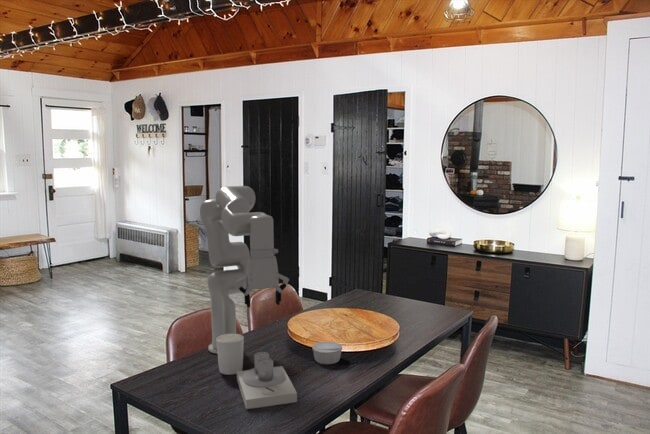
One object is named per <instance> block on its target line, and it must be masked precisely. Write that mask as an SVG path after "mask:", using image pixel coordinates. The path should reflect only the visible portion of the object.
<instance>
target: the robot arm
mask: <svg viewBox="0 0 650 434" xmlns="http://www.w3.org/2000/svg"><path fill="white" fill-rule="evenodd" d="M255 204H256V192H255V191H254V189H253V188H251V187H250V186H247V185H235V186H233V185H232V186H230V185H229V186H224V187H221V188H219V189H218V190H217V192H216V193H215V198H212V199H210V198H209V199H207V200H204V201H203V202H201V204H200V206H199V207H200V208H199V215H200V220H201V223H202V225H203V227H204V229H205V232H206V239H207V249H208V259H209V264H210V265H211V266H212V267H213V268H229V267H237V269H226V270H218V271H214V272H212V273H211V274H210V275H209V276H208V278H207V286H208V292H209V297H210V311H211V312H210V314H211V315H210V316H211V343H210V344H209V345H208V351H209V352H210V353H212V354H215V355H218V353H217V342H216V338H217V337H218V336H220V335H224V334H231V333H234V334H237V320H236V317H237V313H236V312H237V311H236V304H235V301H234V300H233V299H232V298H231V297H230V295H235V294H243V295H244V305H246V306H247V308H251V296H250V293H251V291H252V290H263V289H275V290H276V291H275V294H274V296H275V303H276V305H277V306H280V305H281V304H280V302H282V293H283V291H284V290H285V288H286V287H287V285H288V283H289V281H290V278H289V277H287V276H284V275H282V274H281V273H279V268H278V261H277V257H276V256H275V255H276V254H278V253H279V249H278V248H275V247H274V244H275V243H274V239H275V238H274V237H275V235H274V218H273V216H271V215H269V214H266V213H265V212H262V211H255V212H250V211H251V210H252V209H253V208H254V205H255ZM230 236H232V237H244V236H249V242H250V243H249V245H250V247H248V245H247V244H246V243H245V242H243V241H230ZM249 248H250V249H249ZM280 280H282V281H283V282H282V283H281V284H280V283H279V282H280ZM279 284H280V285H279Z"/></svg>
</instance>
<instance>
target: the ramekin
mask: <svg viewBox="0 0 650 434" xmlns="http://www.w3.org/2000/svg"><path fill="white" fill-rule="evenodd" d="M342 350H343V346H342V345H341V344H340V343H339V342H336V341H335V342H334V341H318V342H316V343H315V344H313V346H312V352H313V357H314V360H315V361H316V362H317V363H318V364H321V365H333V364H336V363H338V362H339V361H340V359H341V355H342Z"/></svg>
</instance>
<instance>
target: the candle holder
mask: <svg viewBox="0 0 650 434" xmlns="http://www.w3.org/2000/svg"><path fill="white" fill-rule="evenodd" d="M244 341H245V337H244V335H243V334H240V333H236V334H234V333H231V334H224V335H220V336H218V337H217V338H216V342H217V353H218V354H217V362H218V363H217V364H218V371H219V373H221V374H222V375H228V376H231V375H237V371H243V368H244Z"/></svg>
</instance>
